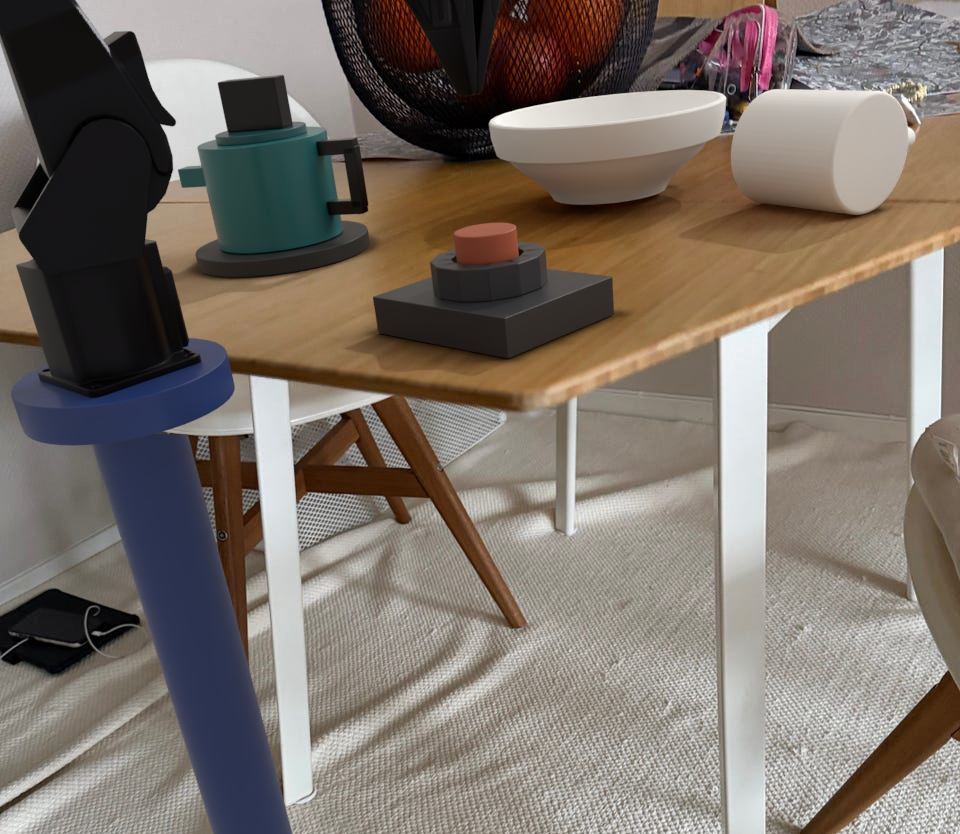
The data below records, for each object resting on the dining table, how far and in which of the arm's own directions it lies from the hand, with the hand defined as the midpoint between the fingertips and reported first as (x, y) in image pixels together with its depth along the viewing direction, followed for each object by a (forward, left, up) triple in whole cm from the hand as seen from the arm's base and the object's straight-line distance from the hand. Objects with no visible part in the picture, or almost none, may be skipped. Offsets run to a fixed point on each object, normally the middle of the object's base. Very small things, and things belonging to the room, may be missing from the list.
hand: (470, 95), depth 59 cm
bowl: (+32, +17, -12) cm, 39 cm away
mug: (+35, -2, -12) cm, 37 cm away
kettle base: (+7, +31, -12) cm, 34 cm away
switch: (0, 0, -9) cm, 9 cm away
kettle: (+7, +31, -11) cm, 34 cm away
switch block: (0, 0, -12) cm, 12 cm away
